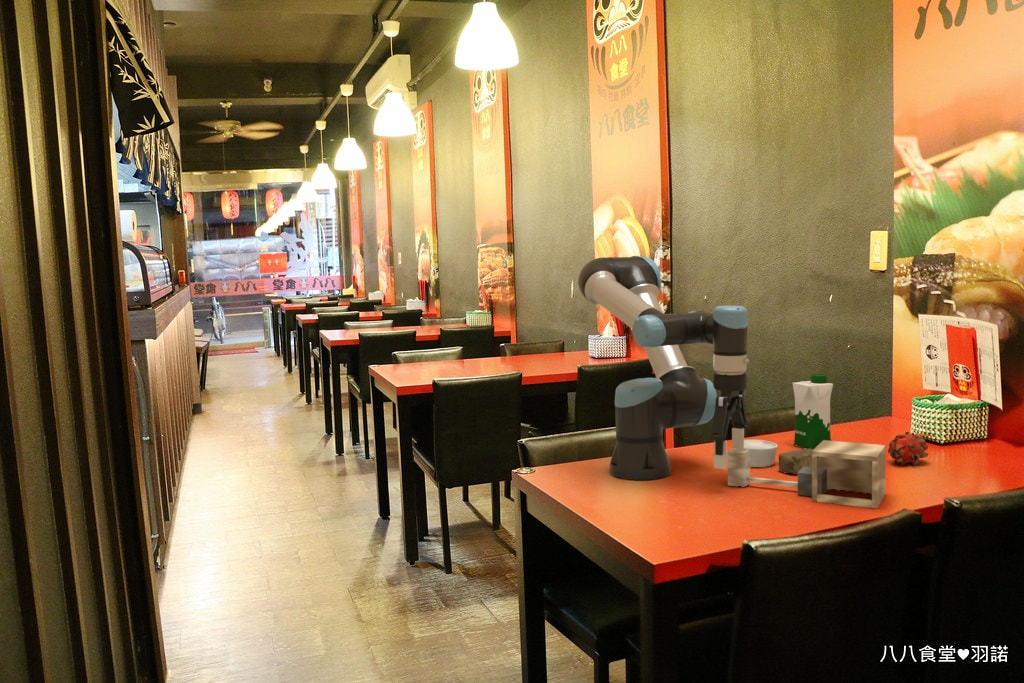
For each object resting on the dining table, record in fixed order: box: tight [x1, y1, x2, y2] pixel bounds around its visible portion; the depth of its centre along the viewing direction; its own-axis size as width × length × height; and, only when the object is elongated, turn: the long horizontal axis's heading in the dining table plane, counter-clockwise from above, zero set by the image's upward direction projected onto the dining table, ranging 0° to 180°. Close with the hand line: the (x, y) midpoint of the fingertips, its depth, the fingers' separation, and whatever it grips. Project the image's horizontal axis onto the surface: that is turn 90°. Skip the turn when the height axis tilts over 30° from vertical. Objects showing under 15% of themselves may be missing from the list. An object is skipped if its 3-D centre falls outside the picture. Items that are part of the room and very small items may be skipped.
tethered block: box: [727, 447, 828, 497], centre depth 186 cm, size 21×6×8 cm, turn 58°
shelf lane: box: [811, 440, 887, 510], centre depth 177 cm, size 13×12×11 cm
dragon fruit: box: [887, 431, 929, 466], centre depth 205 cm, size 8×8×12 cm
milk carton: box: [791, 373, 834, 449], centre depth 226 cm, size 9×9×20 cm
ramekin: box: [744, 439, 779, 468], centre depth 210 cm, size 11×11×5 cm
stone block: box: [778, 448, 823, 475], centre depth 202 cm, size 6×12×5 cm, turn 121°
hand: (729, 461), depth 192 cm, fingers open, 13 cm apart
